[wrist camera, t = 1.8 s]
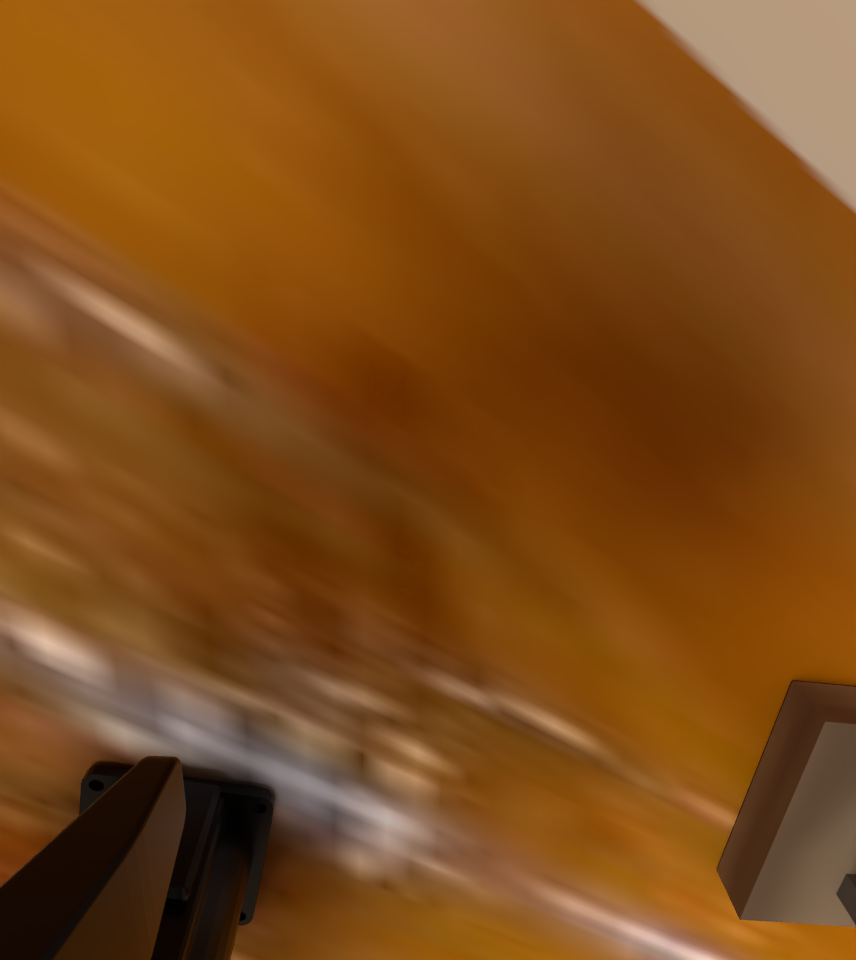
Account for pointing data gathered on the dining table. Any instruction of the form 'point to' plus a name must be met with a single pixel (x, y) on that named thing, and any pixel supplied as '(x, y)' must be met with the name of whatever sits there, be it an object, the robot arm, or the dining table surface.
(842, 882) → the grey base plate stand
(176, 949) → the robot arm
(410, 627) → the dining table surface
